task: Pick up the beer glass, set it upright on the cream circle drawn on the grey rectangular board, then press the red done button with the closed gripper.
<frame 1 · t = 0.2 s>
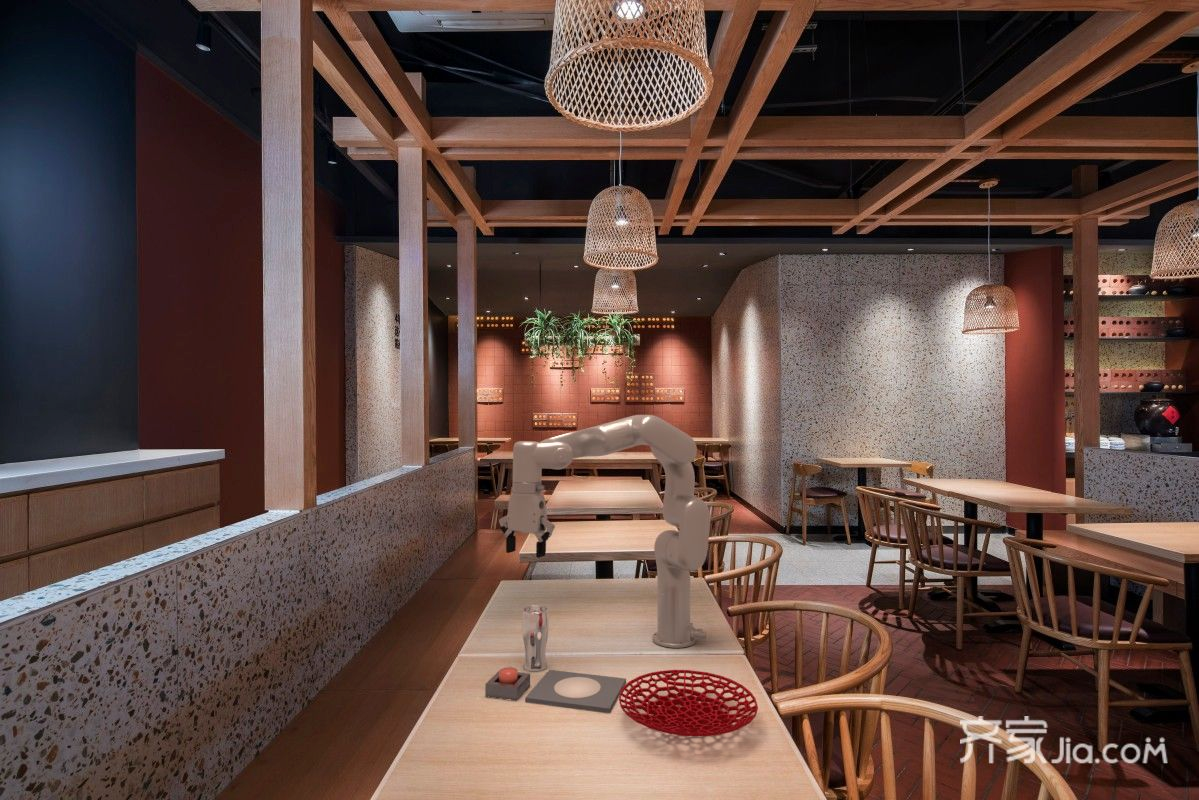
hand: (525, 554, 162), 29 cm above the table, tool pointing down, fingers open, 9 cm apart
bowl: (687, 722, 133), on the table
button housing: (508, 691, 148), on the table
grey rectangular board: (577, 692, 147), on the table
beer glass: (535, 667, 162), on the table
done button: (508, 677, 148), point 3 cm above the table, slide at 0.0 cm
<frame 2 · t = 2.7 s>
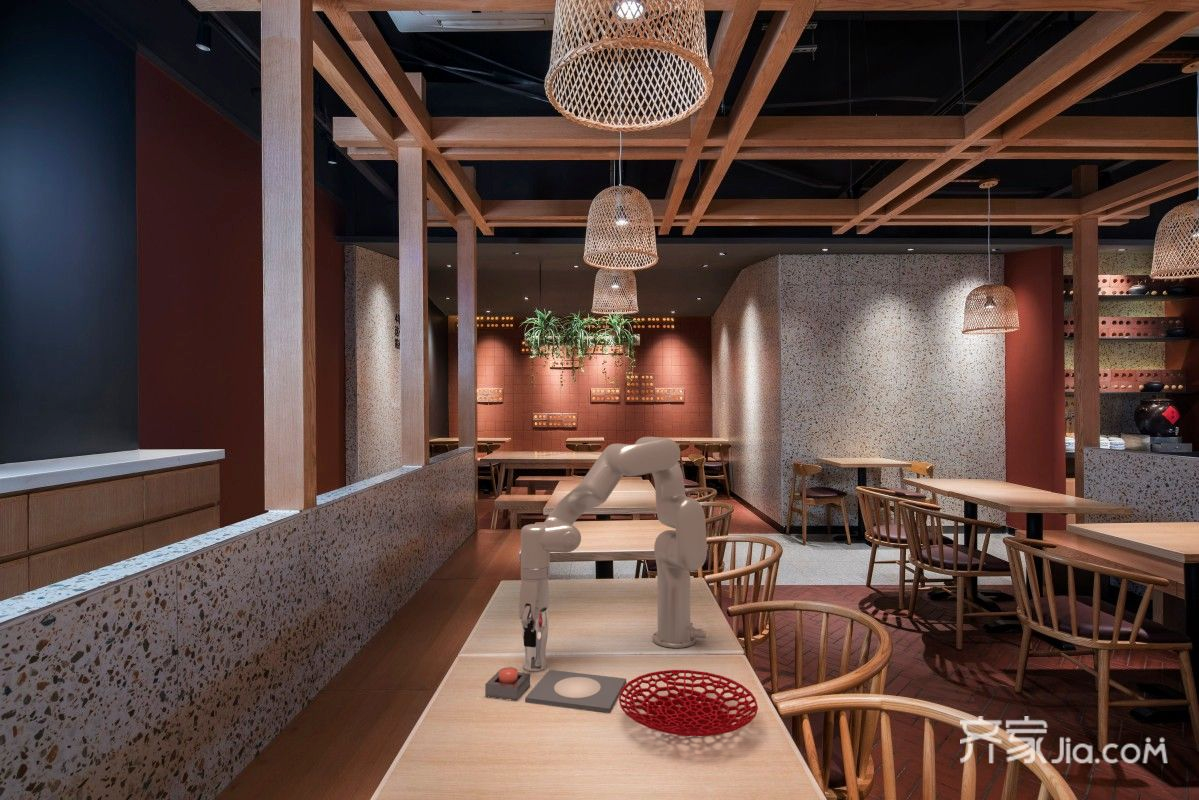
hand: (535, 640, 162), 7 cm above the table, tool pointing down, fingers closed on beer glass, 6 cm apart
beer glass: (535, 667, 162), on the table, touching gripper
everything else where it was.
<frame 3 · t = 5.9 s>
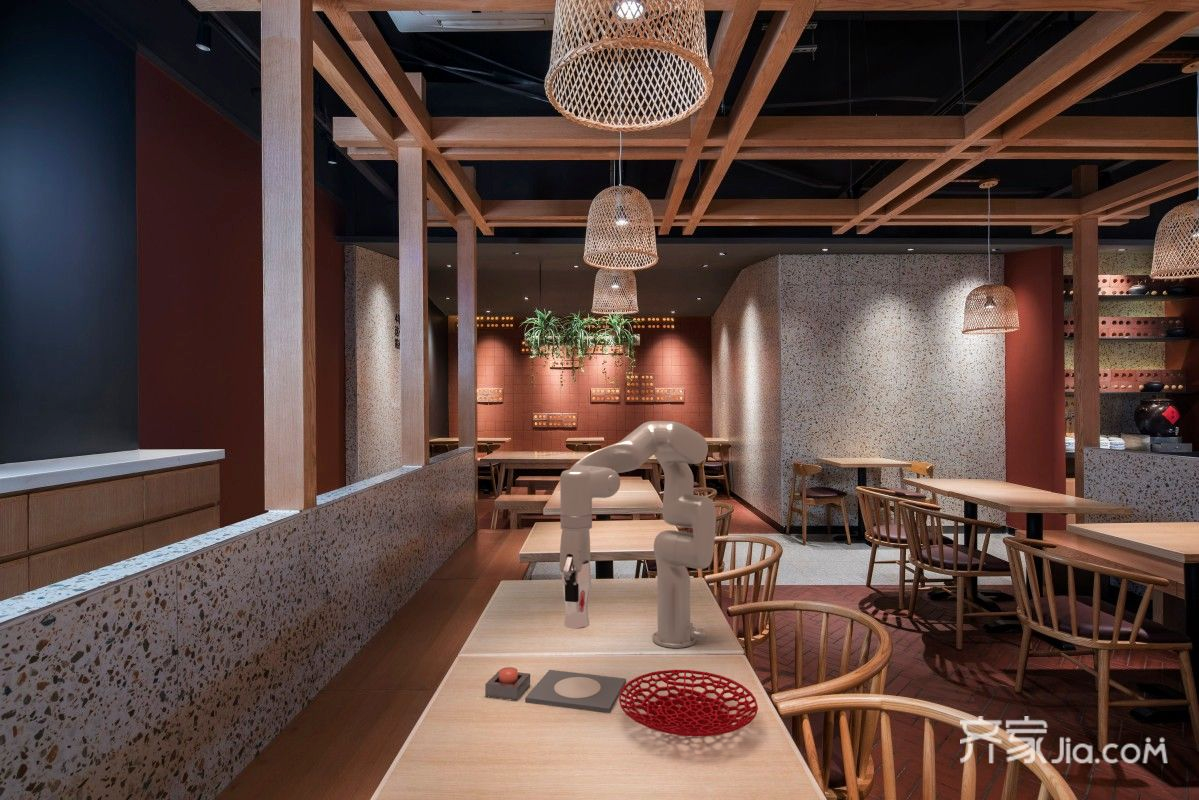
hand: (576, 596, 148), 22 cm above the table, tool pointing down, fingers closed on beer glass, 6 cm apart
beer glass: (576, 625, 148), point 16 cm above the table, touching gripper
everything else where it was.
when the fingers open (8 cm above the table, at t = 9.1 s): beer glass stays where it is, resting on grey rectangular board.
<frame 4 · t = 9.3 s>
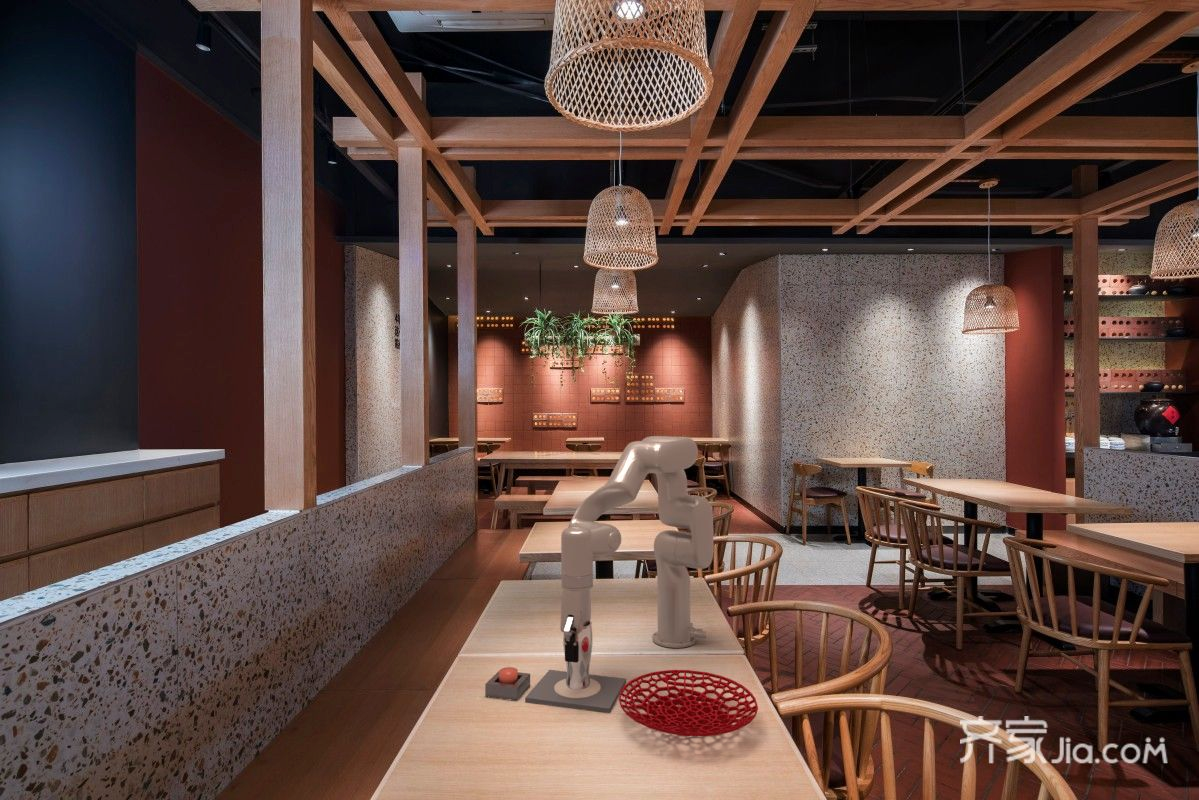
hand: (577, 654, 147), 9 cm above the table, tool pointing down, fingers open, 8 cm apart
beer glass: (578, 687, 148), point 1 cm above the table, touching grey rectangular board
everything else where it was.
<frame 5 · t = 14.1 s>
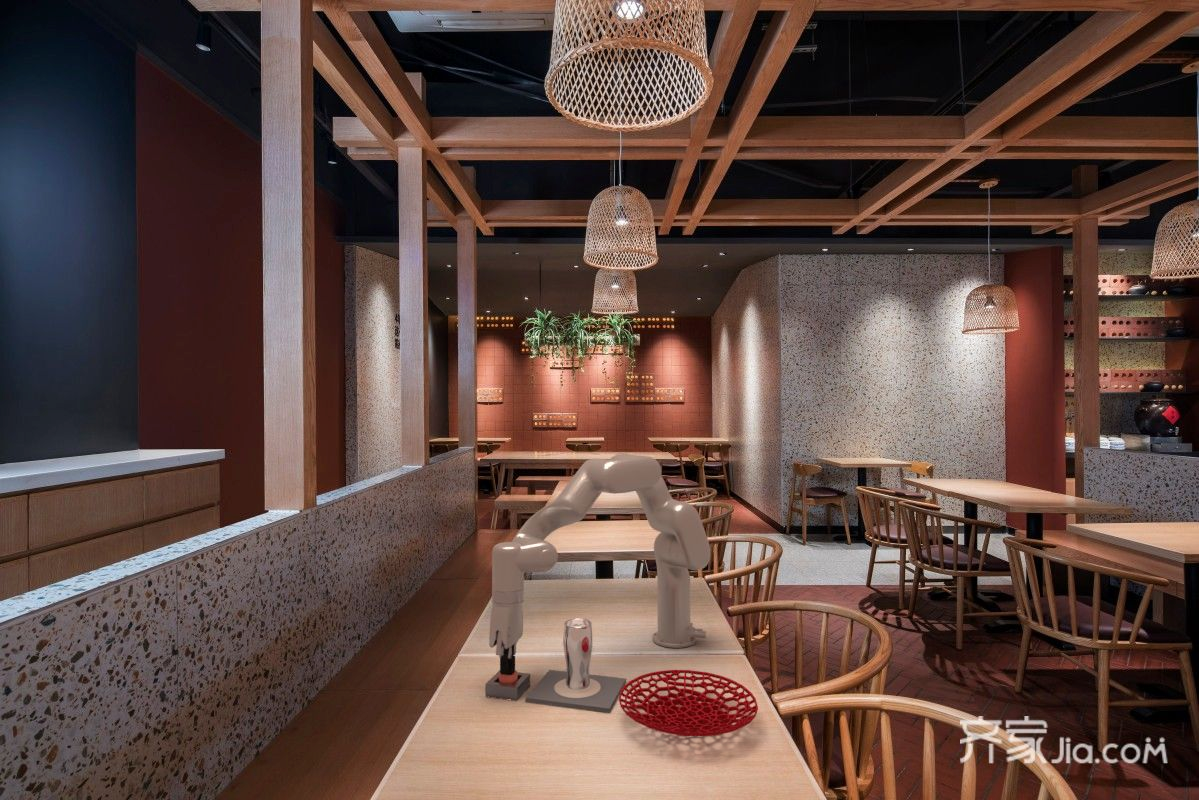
hand: (507, 673, 148), 4 cm above the table, tool pointing down, fingers closed
done button: (508, 679, 148), point 3 cm above the table, slide at 0.5 cm, touching gripper
everything else where it was.
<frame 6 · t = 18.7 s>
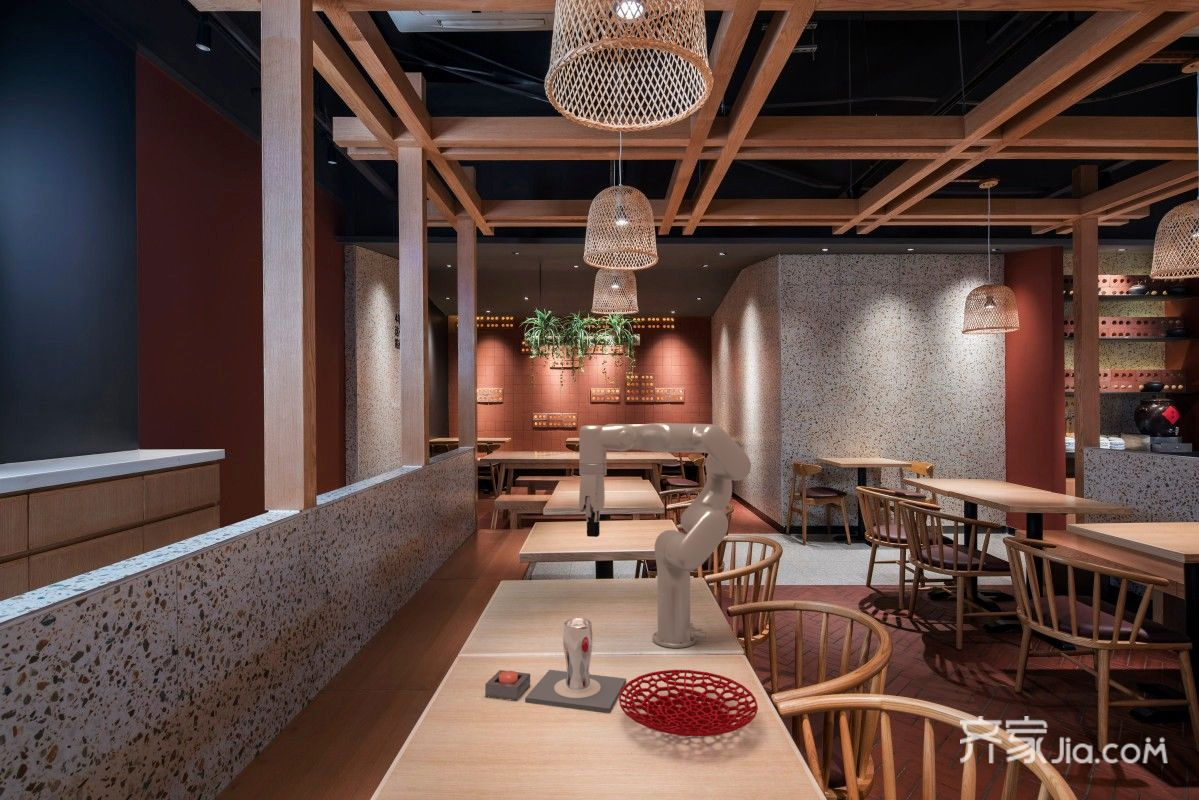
hand: (593, 535, 172), 32 cm above the table, tool pointing down, fingers closed
done button: (508, 680, 148), point 2 cm above the table, slide at 0.9 cm
everything else where it was.
at the end: beer glass 0.3 cm off-centre on the grey rectangular board, point 1.0 cm above the grey rectangular board's base; beer glass tilted 0°; done button slide at 0.9 cm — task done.
